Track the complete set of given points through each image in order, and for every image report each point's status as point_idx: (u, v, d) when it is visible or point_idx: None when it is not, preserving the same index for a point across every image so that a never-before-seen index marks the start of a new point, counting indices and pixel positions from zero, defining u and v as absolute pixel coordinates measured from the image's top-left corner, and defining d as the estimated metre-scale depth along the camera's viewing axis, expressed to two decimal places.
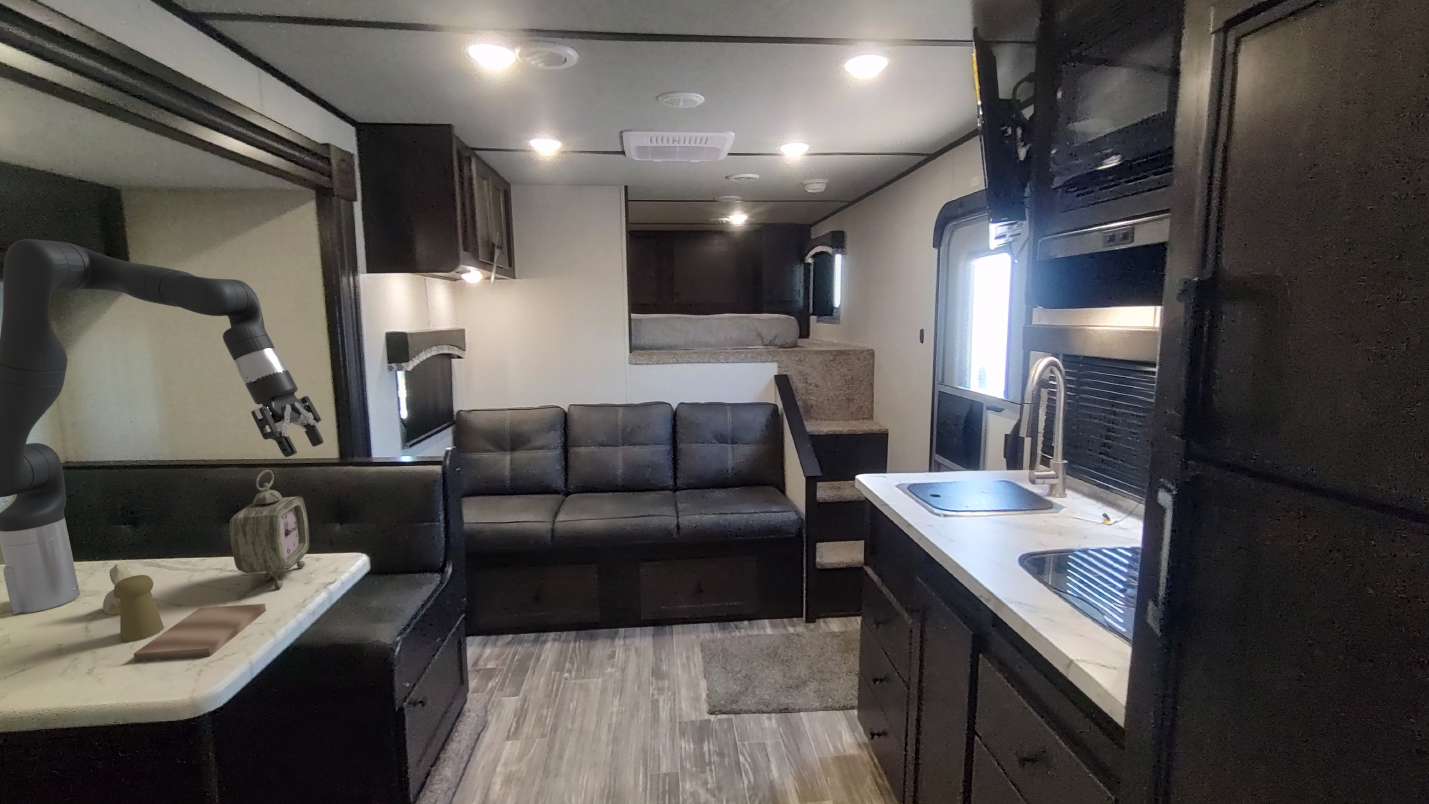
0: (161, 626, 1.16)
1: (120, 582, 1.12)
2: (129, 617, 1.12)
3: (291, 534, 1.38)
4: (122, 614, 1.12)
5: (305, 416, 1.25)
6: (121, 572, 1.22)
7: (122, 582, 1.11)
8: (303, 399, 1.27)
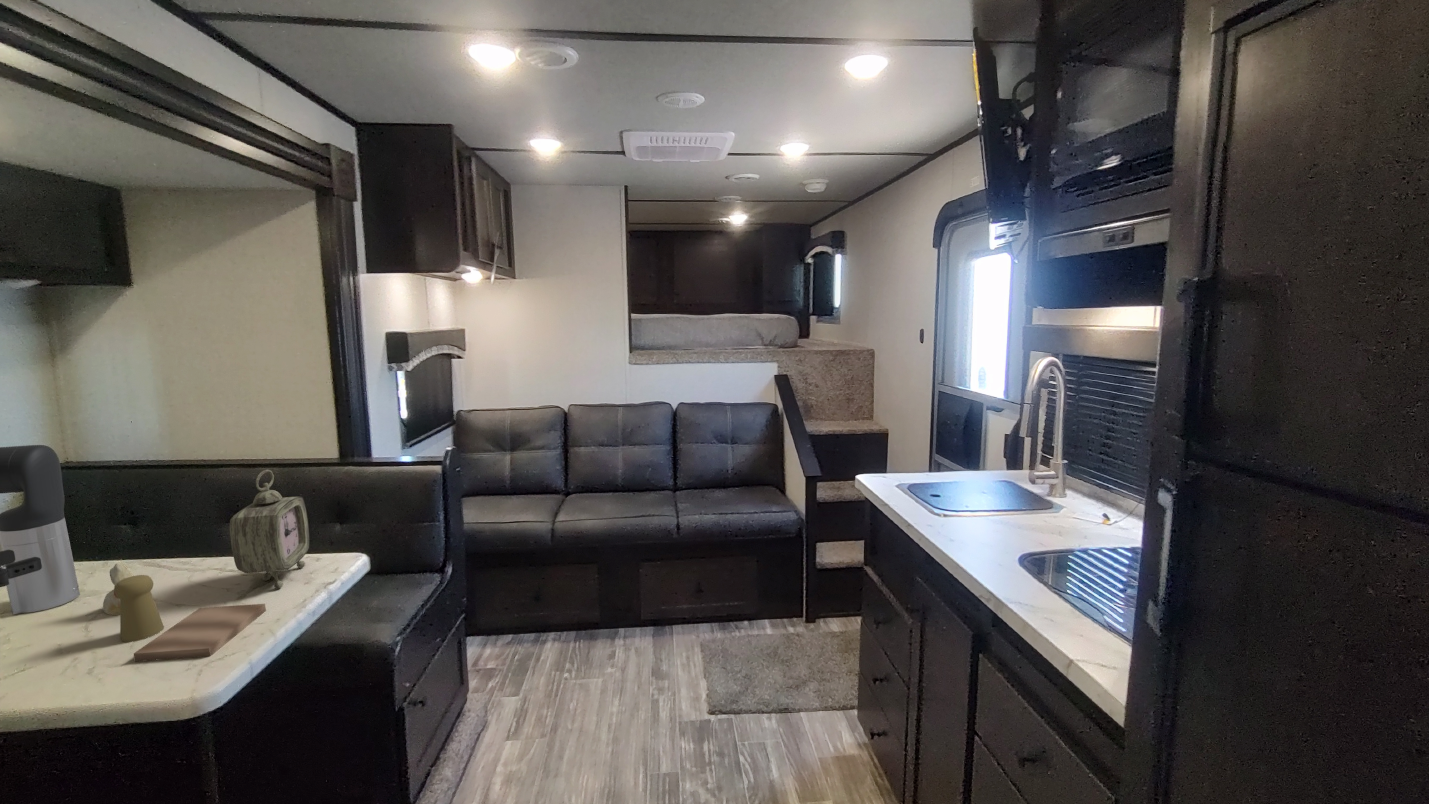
0: (161, 626, 1.16)
1: (120, 582, 1.12)
2: (129, 617, 1.12)
3: (291, 534, 1.38)
4: (122, 614, 1.12)
5: None
6: (121, 572, 1.22)
7: (122, 582, 1.11)
8: None
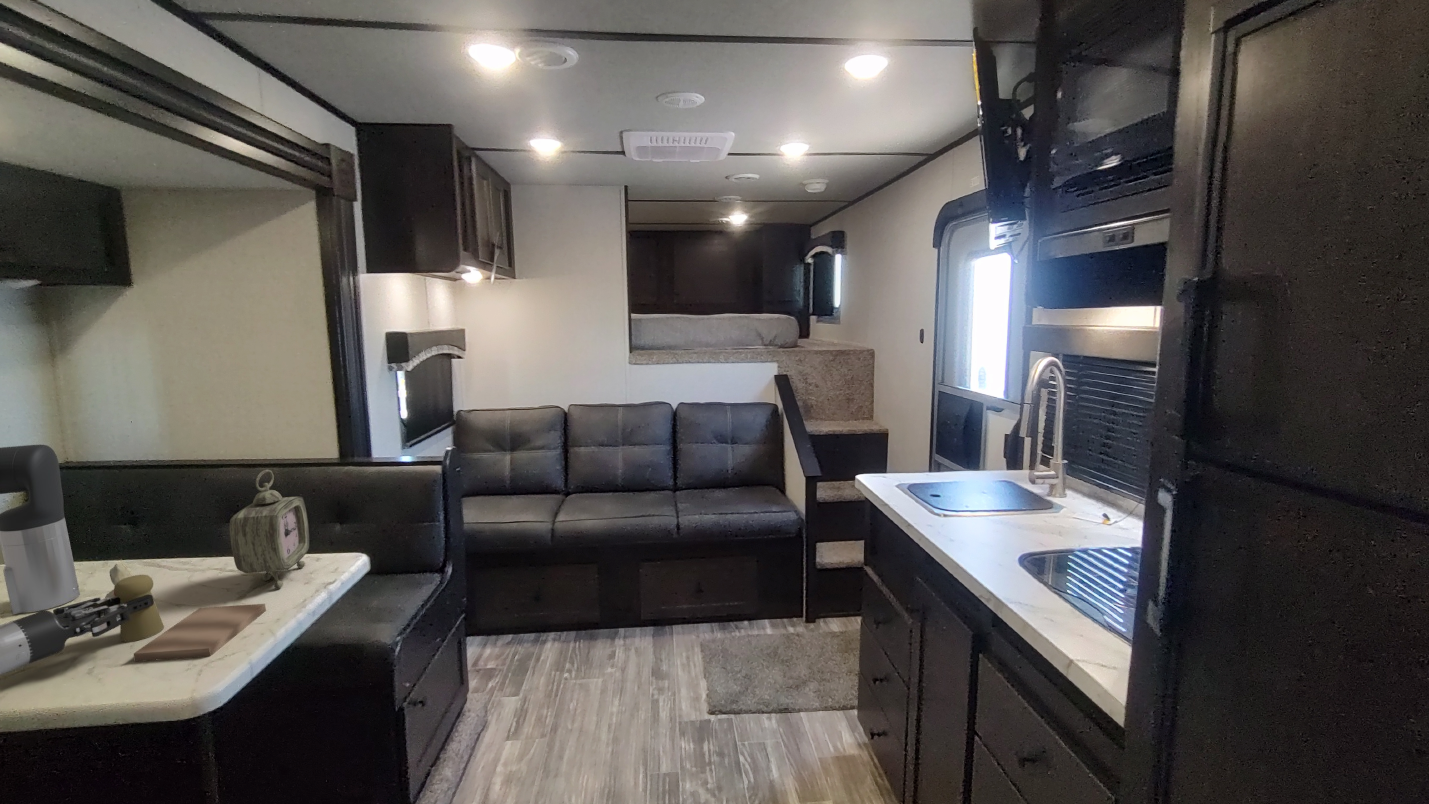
0: (161, 626, 1.16)
1: (120, 582, 1.12)
2: None
3: (291, 534, 1.38)
4: None
5: None
6: (121, 572, 1.22)
7: (122, 582, 1.11)
8: None
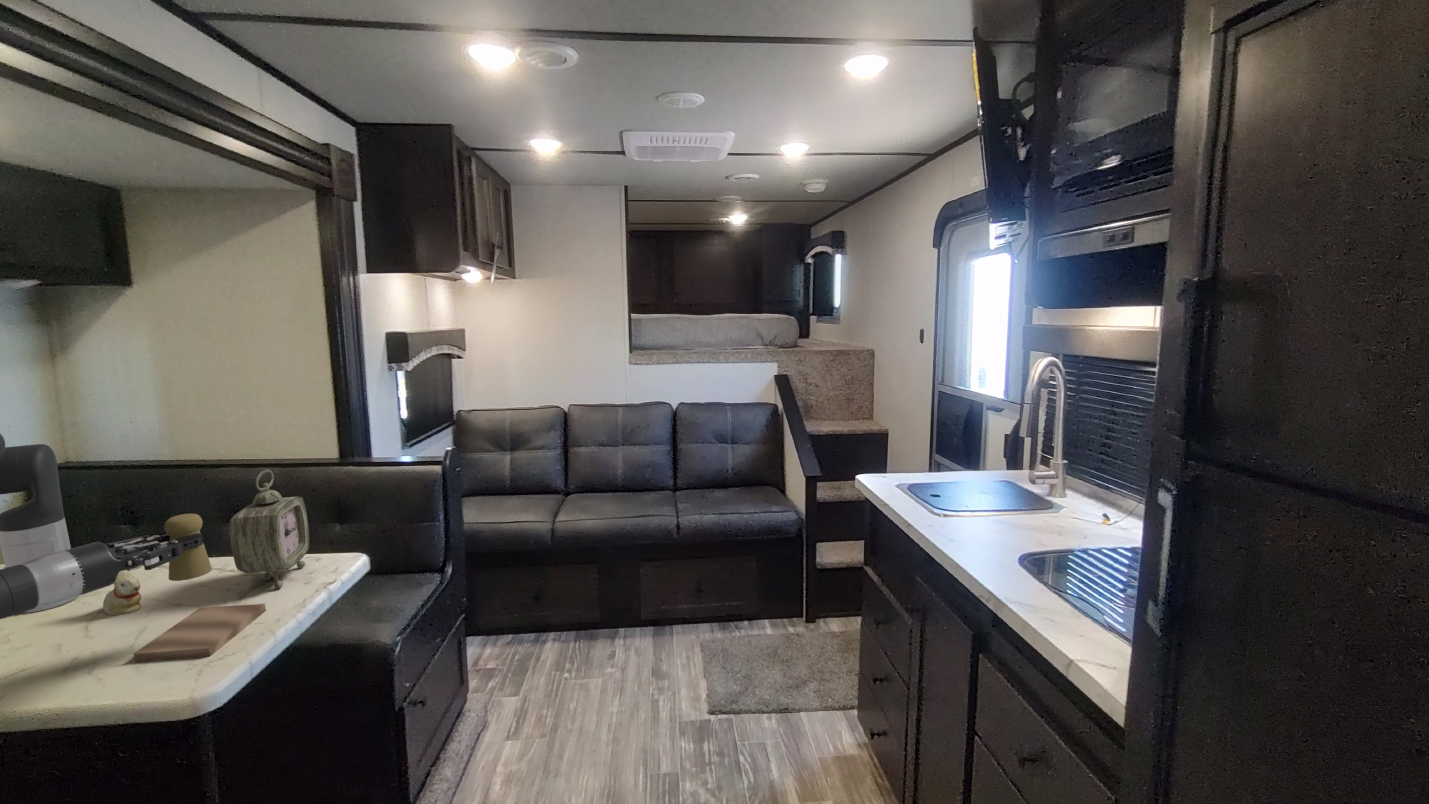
0: (209, 567, 1.12)
1: (170, 519, 1.08)
2: None
3: (291, 534, 1.38)
4: None
5: None
6: (121, 572, 1.22)
7: (172, 519, 1.08)
8: None
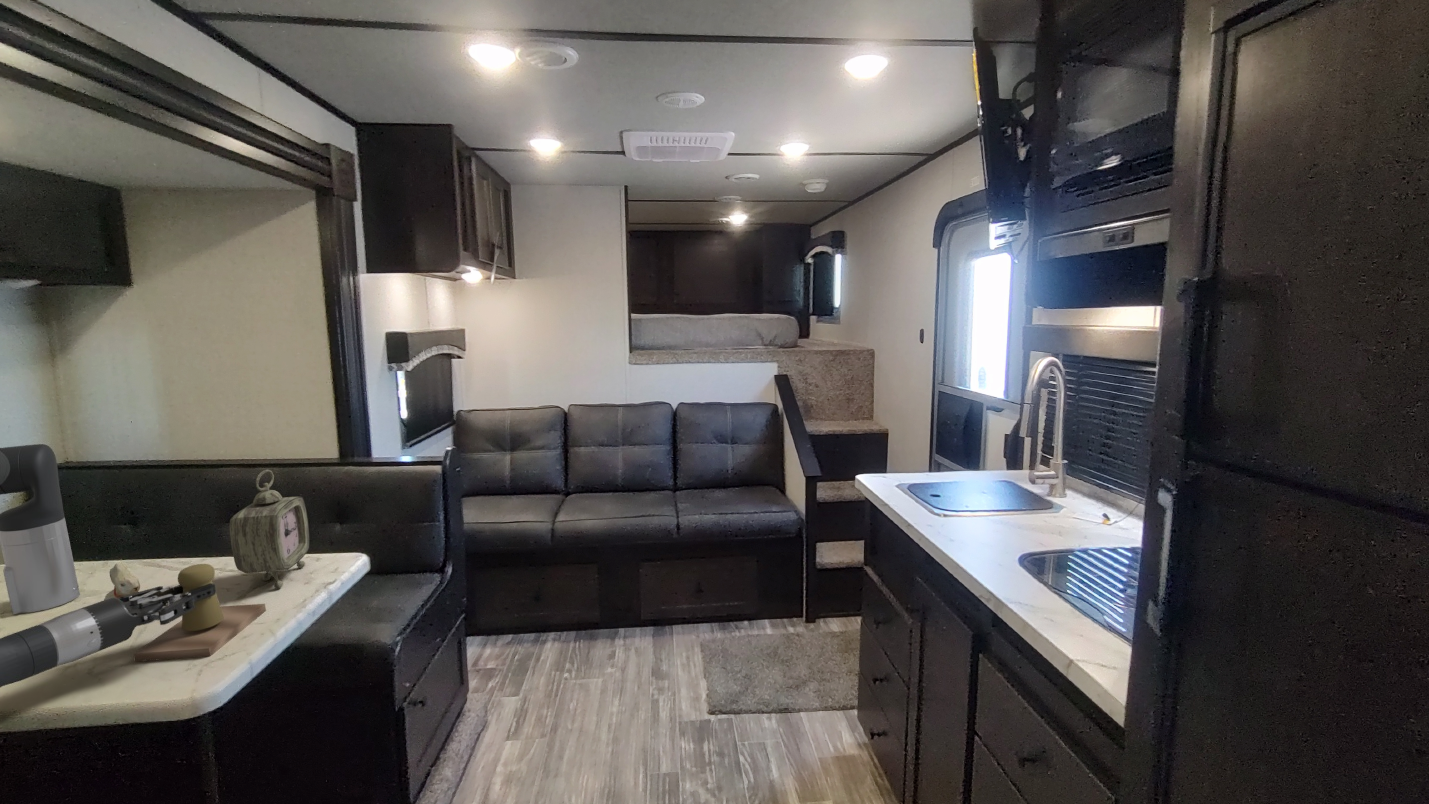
0: (221, 616, 1.14)
1: (183, 570, 1.10)
2: None
3: (291, 534, 1.38)
4: None
5: None
6: (121, 572, 1.22)
7: (185, 570, 1.10)
8: None
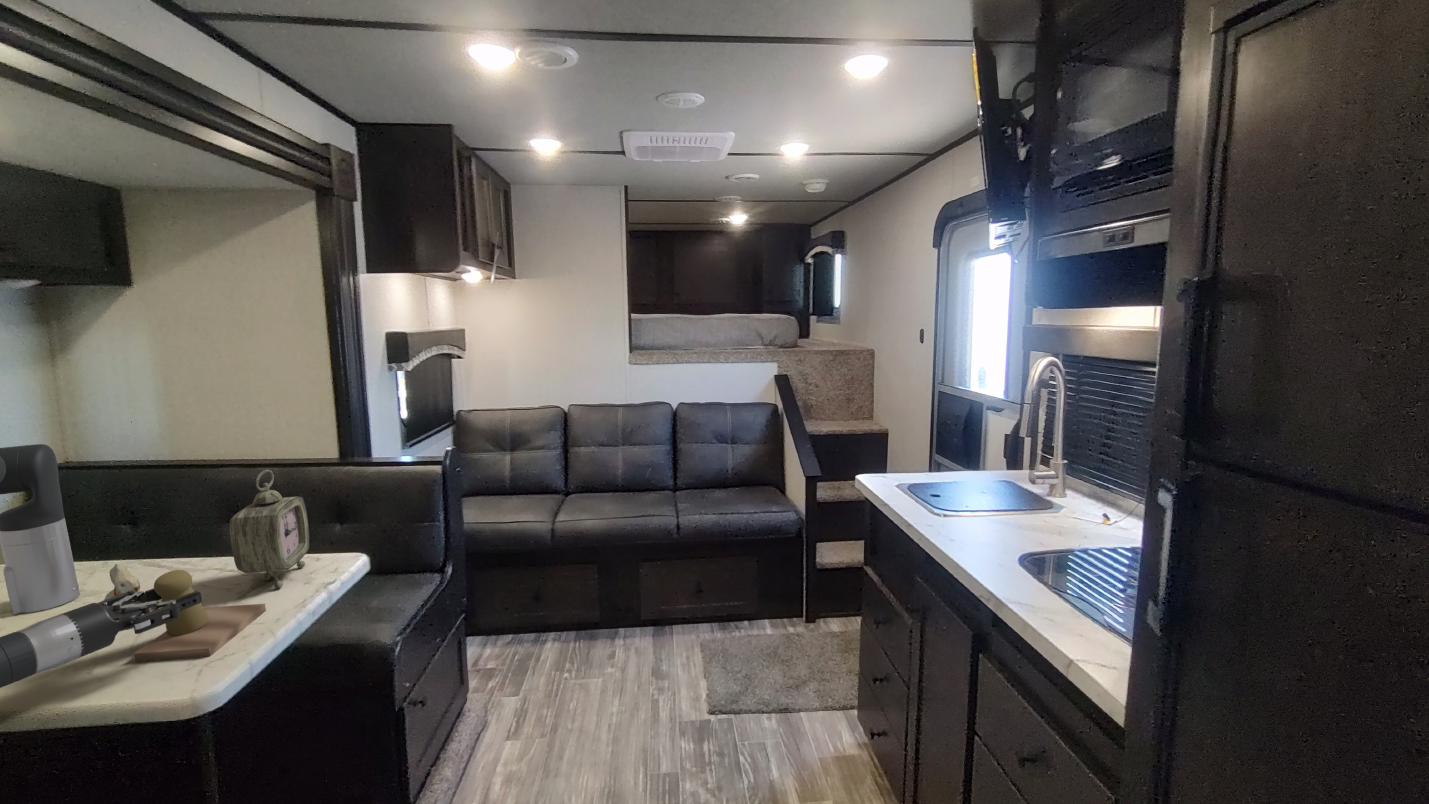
0: (206, 617, 1.14)
1: (158, 580, 1.08)
2: None
3: (291, 534, 1.38)
4: None
5: None
6: (121, 572, 1.22)
7: (161, 581, 1.08)
8: None
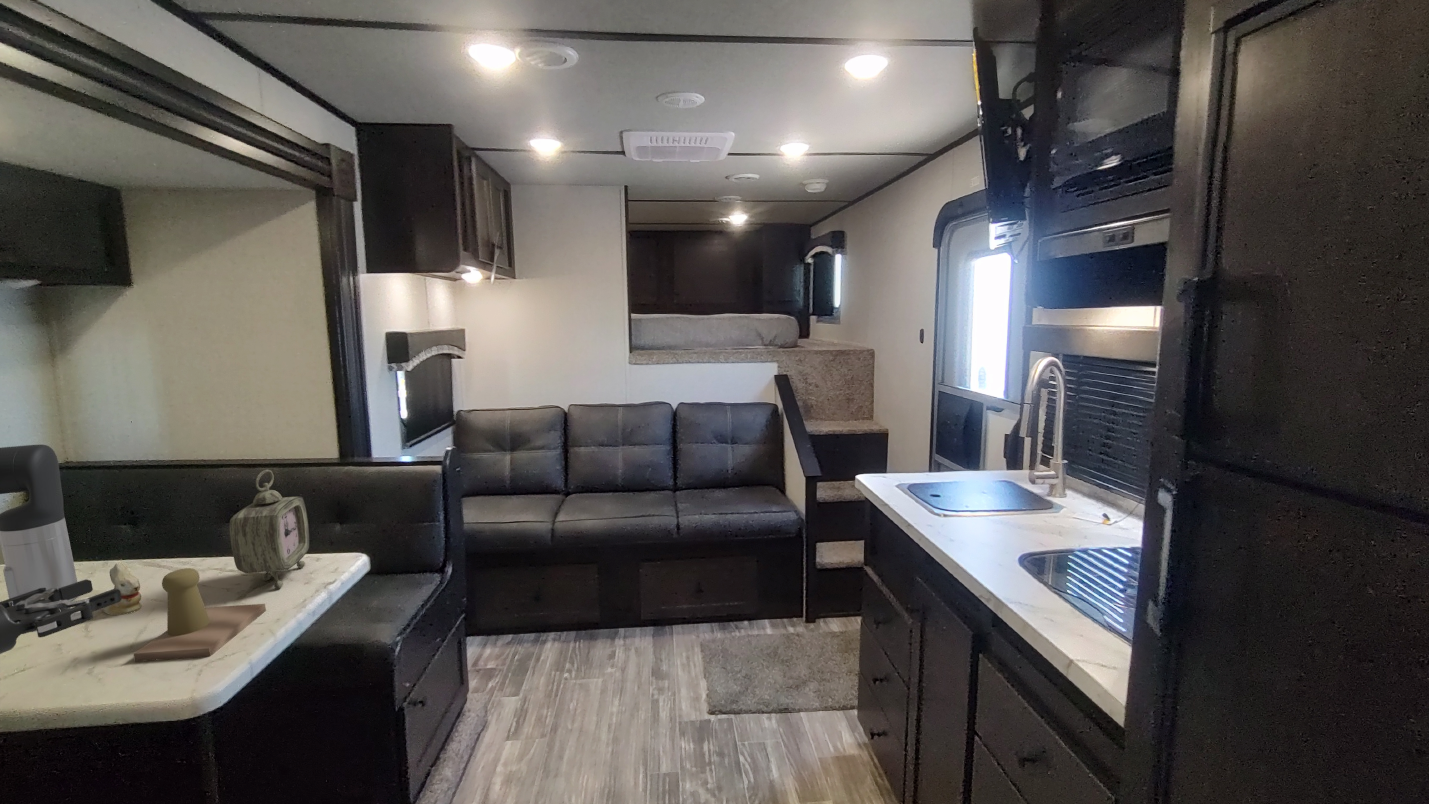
0: (207, 620, 1.15)
1: (167, 575, 1.11)
2: (176, 611, 1.10)
3: (291, 534, 1.38)
4: (169, 608, 1.11)
5: None
6: (121, 572, 1.22)
7: (170, 575, 1.10)
8: None
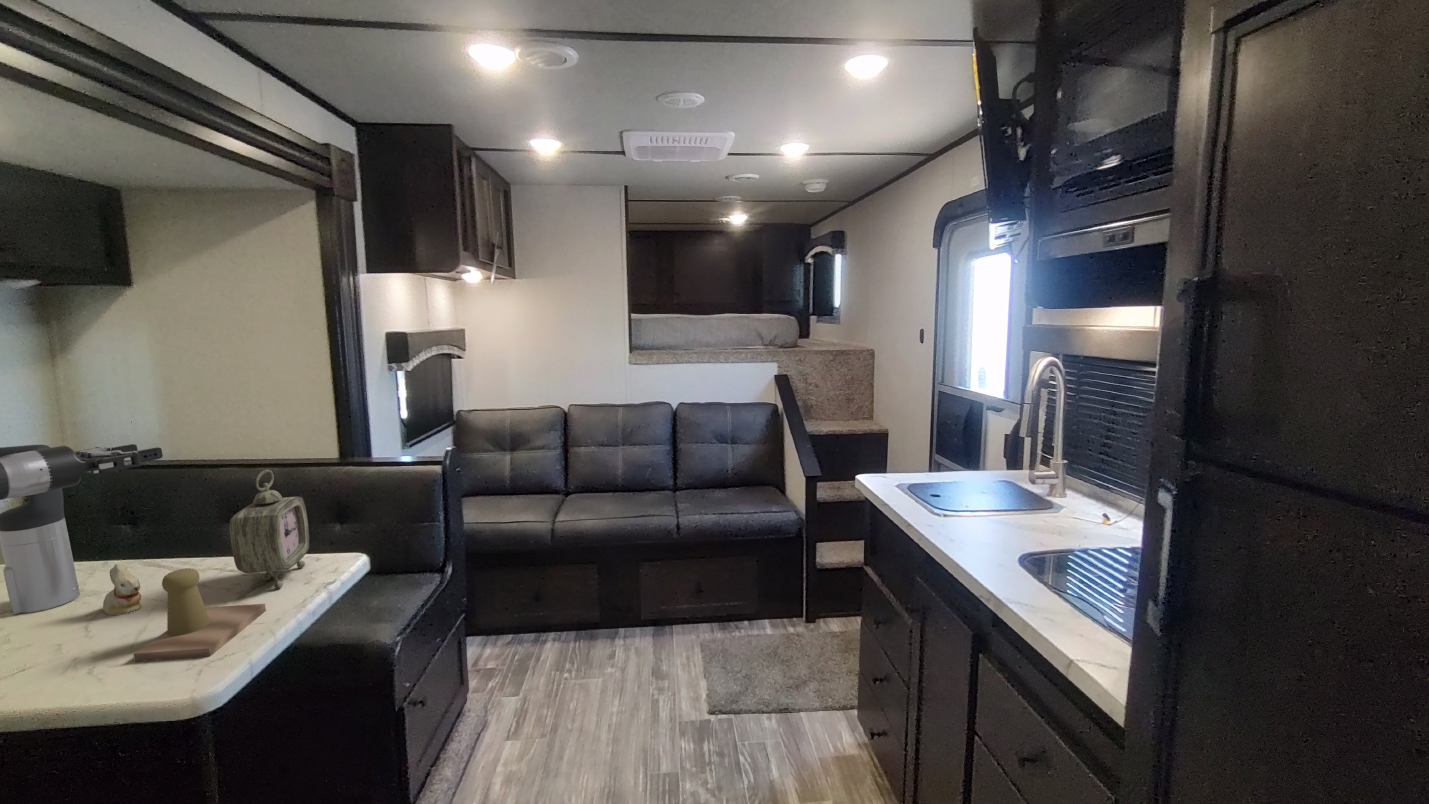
0: (207, 620, 1.15)
1: (167, 575, 1.10)
2: (176, 611, 1.10)
3: (291, 534, 1.38)
4: (169, 608, 1.11)
5: None
6: (121, 572, 1.22)
7: (170, 575, 1.10)
8: None
